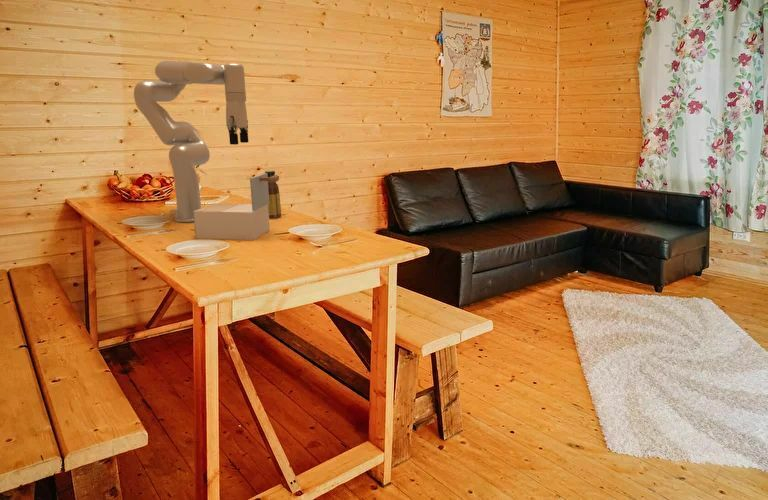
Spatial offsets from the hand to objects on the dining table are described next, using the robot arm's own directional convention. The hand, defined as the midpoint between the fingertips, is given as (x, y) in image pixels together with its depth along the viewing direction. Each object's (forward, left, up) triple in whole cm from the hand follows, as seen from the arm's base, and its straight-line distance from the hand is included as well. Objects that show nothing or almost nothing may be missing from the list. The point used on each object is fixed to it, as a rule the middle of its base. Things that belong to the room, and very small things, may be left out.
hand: (239, 143), depth 221 cm
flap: (+13, -16, -16) cm, 26 cm away
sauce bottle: (+6, +16, -32) cm, 37 cm away
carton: (+2, -16, -32) cm, 36 cm away
